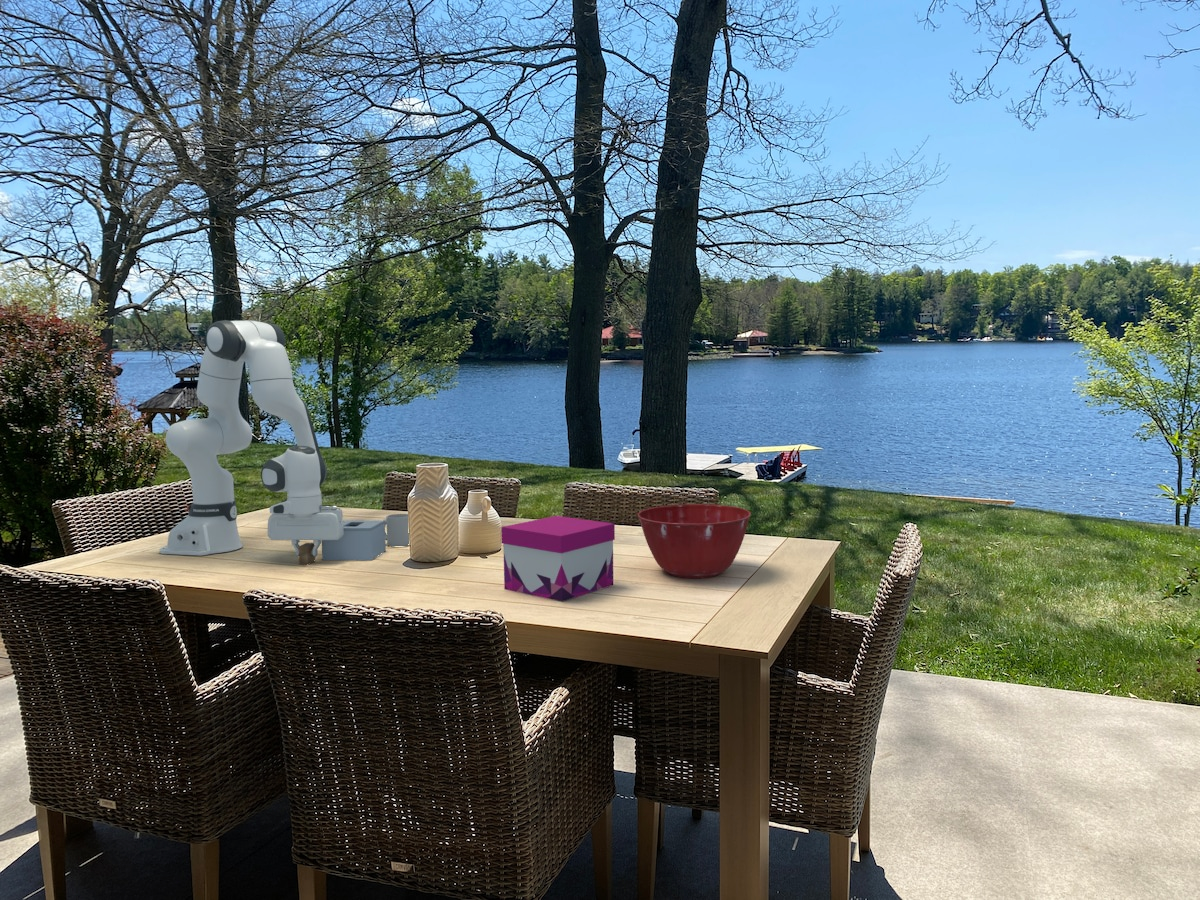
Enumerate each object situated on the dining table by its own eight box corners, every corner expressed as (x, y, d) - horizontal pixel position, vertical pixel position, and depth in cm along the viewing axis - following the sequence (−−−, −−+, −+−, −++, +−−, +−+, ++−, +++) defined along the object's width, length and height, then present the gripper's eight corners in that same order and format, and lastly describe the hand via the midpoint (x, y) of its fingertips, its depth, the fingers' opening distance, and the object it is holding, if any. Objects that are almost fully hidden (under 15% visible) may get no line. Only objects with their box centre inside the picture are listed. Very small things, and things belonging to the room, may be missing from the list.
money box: (322, 560, 232) (321, 528, 231) (338, 551, 244) (337, 520, 243) (371, 560, 231) (370, 528, 230) (385, 551, 243) (384, 520, 242)
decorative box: (556, 574, 213) (555, 515, 212) (615, 585, 201) (614, 523, 200) (502, 589, 199) (501, 527, 197) (562, 602, 187) (561, 536, 185)
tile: (299, 564, 227) (298, 546, 227) (306, 560, 232) (306, 542, 232) (307, 564, 227) (306, 546, 226) (315, 560, 232) (314, 542, 231)
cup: (404, 548, 247) (403, 518, 247) (374, 546, 250) (373, 517, 249) (416, 543, 254) (415, 514, 254) (386, 541, 257) (385, 513, 256)
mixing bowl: (660, 590, 196) (659, 525, 194) (624, 564, 223) (623, 506, 222) (770, 581, 203) (770, 518, 202) (722, 556, 231) (722, 501, 229)
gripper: (346, 503, 230) (348, 553, 232) (274, 503, 232) (276, 553, 233) (337, 507, 224) (339, 558, 225) (263, 507, 226) (266, 558, 227)
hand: (307, 555), depth 229 cm, fingers closed on tile, 2 cm apart
